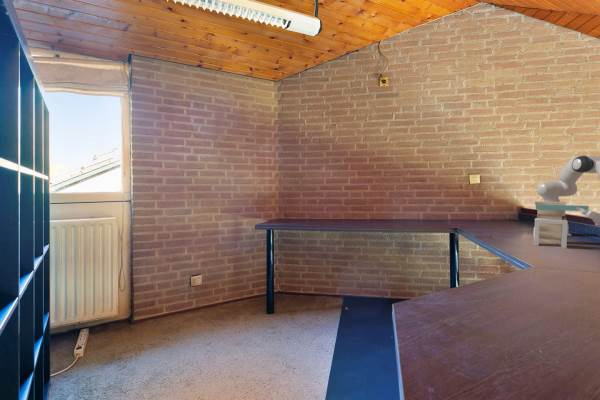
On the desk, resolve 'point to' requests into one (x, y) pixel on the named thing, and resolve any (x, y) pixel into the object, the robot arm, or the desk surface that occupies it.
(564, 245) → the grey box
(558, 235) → the birch shelf
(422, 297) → the desk surface
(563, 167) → the robot arm
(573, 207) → the teal rectangular bar
